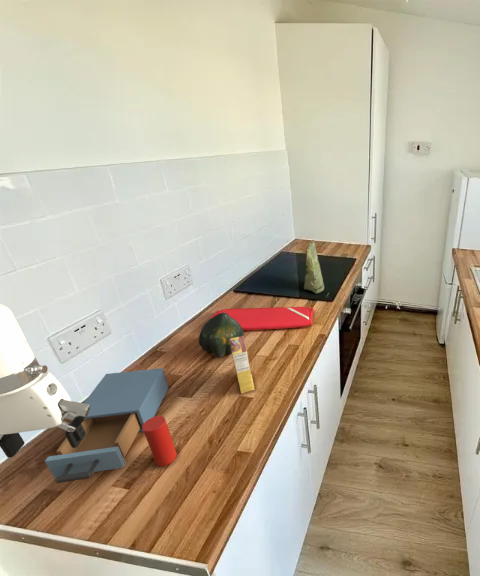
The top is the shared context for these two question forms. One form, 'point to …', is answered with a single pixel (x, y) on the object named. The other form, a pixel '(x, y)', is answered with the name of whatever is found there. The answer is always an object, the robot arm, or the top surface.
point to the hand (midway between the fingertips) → (48, 446)
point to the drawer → (95, 448)
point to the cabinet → (128, 394)
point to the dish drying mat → (271, 317)
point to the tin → (159, 440)
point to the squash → (219, 334)
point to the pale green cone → (313, 270)
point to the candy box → (241, 364)
